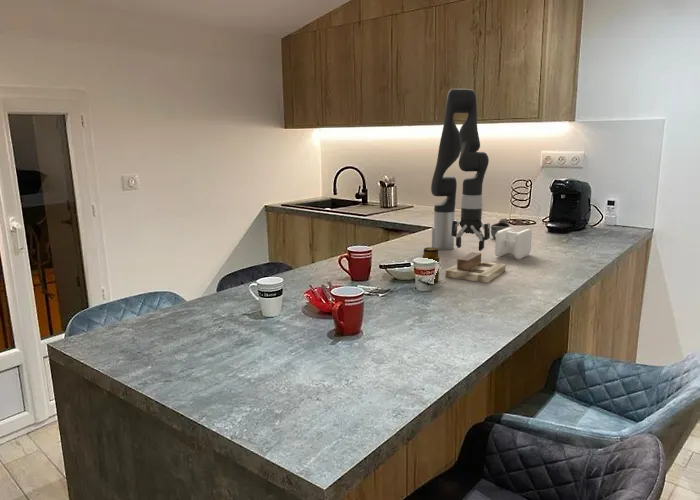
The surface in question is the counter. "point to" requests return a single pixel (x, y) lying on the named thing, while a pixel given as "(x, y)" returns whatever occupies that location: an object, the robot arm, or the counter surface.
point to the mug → (499, 226)
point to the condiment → (433, 254)
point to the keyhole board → (477, 272)
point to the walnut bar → (469, 261)
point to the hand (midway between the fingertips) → (469, 248)
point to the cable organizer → (513, 242)
